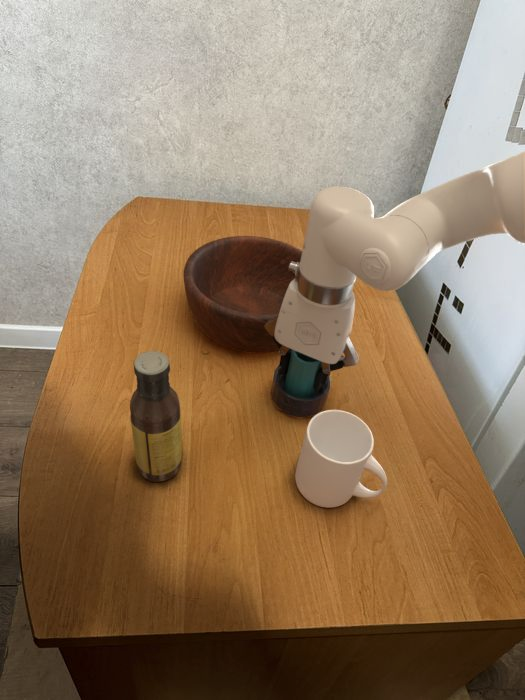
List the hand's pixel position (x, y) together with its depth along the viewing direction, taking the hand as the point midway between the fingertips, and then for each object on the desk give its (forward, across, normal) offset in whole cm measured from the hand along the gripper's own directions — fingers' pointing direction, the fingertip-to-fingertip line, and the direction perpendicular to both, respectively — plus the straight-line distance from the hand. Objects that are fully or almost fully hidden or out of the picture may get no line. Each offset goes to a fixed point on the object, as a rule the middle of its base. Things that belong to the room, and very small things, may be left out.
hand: (302, 376), depth 82 cm
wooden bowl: (+5, -16, +14) cm, 21 cm away
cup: (+3, 0, 0) cm, 3 cm away
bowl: (+5, 0, 0) cm, 5 cm away
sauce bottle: (+5, -12, -22) cm, 25 cm away
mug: (+5, +11, -13) cm, 18 cm away
